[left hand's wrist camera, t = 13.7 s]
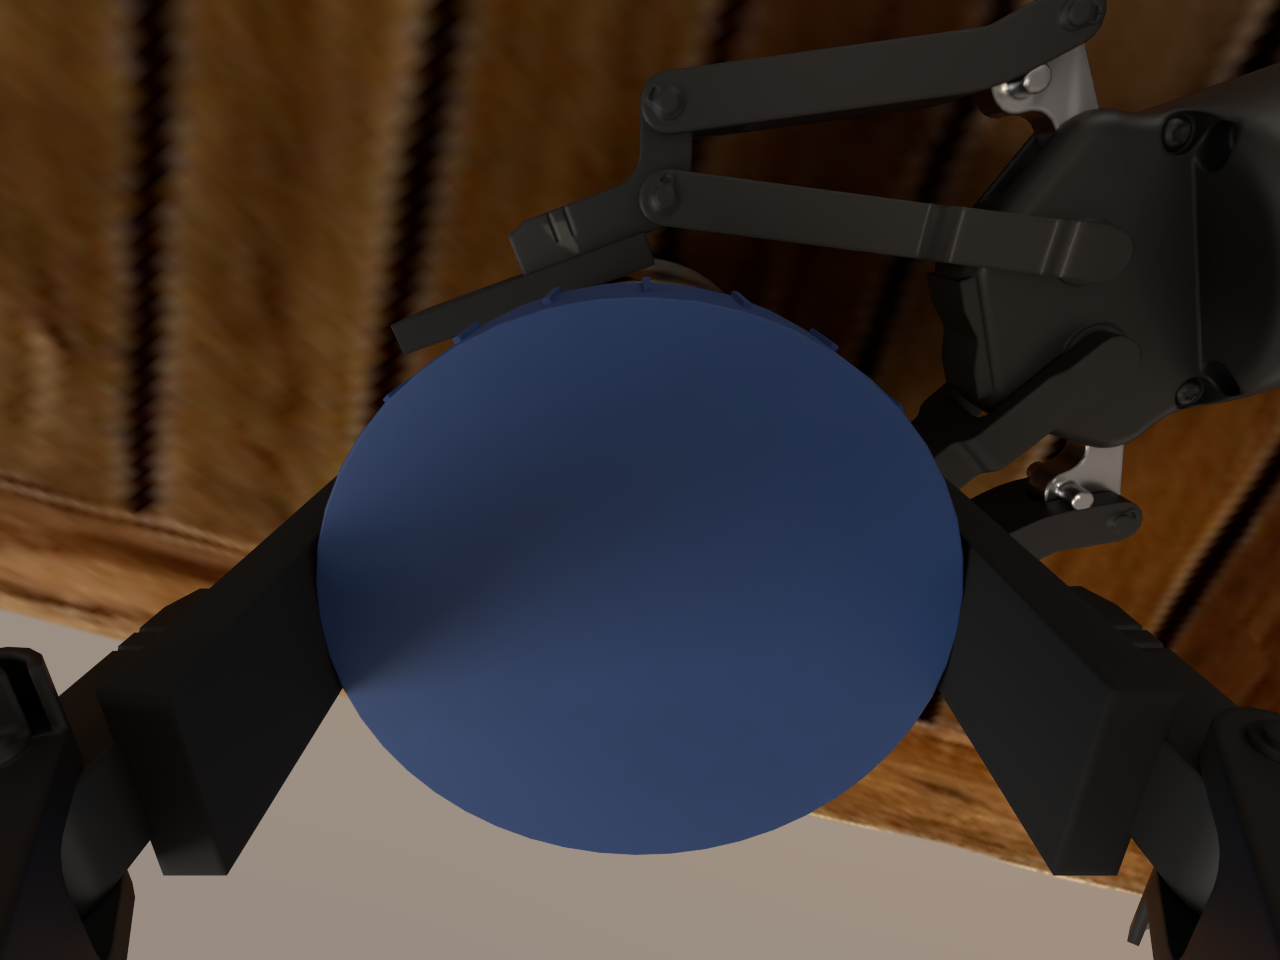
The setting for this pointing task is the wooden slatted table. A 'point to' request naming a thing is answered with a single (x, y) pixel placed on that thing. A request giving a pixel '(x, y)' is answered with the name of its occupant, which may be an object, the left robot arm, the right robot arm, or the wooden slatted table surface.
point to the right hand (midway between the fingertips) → (487, 487)
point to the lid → (639, 571)
